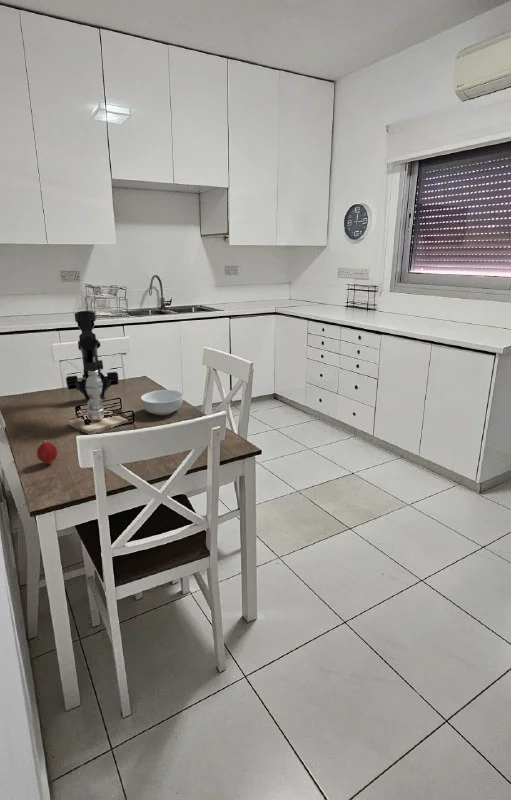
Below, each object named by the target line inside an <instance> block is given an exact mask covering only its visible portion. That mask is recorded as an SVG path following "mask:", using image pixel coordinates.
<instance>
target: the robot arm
mask: <svg viewBox="0 0 511 800" xmlns="http://www.w3.org/2000/svg"><path fill="white" fill-rule="evenodd" d="M74 320H75V324H77V327H78V329H79V330H80V331H81V333H80V334H79V337H78V338H79V339H78V340H77V347H78V351H80V352H81V357H82V365H83V366H82V367H83V374H82V377H78V376H77V375H68V376H67V377H66V378H65V382H66V387H67V390H76V391H79V392H80V393H82V396H83V397H84V398H85V401H86V402H88V397H87V392H86V387H85V381H86V380H87V378H88V377H89V375H88V370H89V371H95V370H98V373H99V375H98V376H99V377H100V379H101V380H102V382H103V388H102V400H105V399H106V393H107V391H108V388H111V387H112V386H115V385H116V386H117V385H119V373H118V371H110V372H108V371H107V372H106V375H104V373H103V372H101V370H104V364H103V363H104V362H103V359H101V360H99V358H98V357H99V355H98V349H100V347H101V342H100V341H99V340H98V339H97V337H96V334H95V333H94V332H93V330H94V328H95V322H96V321H97V319H96V315H95V311H92V310H80V311H77V312H75V313H74Z"/></svg>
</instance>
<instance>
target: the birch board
mask: <svg viewBox="0 0 511 800" xmlns="http://www.w3.org/2000/svg"><path fill="white" fill-rule="evenodd" d="M81 418H82V417H79V418H75V419H72V420H69V421H68V425H70V426H71V427H72V428H75V429H76V428H77V430H78V429H79V430H78V431H80V430H81V431H80V432H82V433H84V432H85V433H84V434H86V433H91V435H94V434H97V433H96V432H98V433H101V432H105V431H107V429H108V430H110V429H109V428H111V429H114V428H113V427H115V426H118V425H121V424H124V423H127V422H128V423H129V421H128V419H127V418H125V417H122V416H120V415H118V416H112V417H108V418H103V419H102V420H99V421H93V422H92V423H91V424H90V425H85V423H84V420H83V419H81ZM121 426H122V425H121ZM118 427H119V426H118ZM115 428H116V427H115ZM104 430H105V431H104Z"/></svg>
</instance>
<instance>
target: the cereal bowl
mask: <svg viewBox="0 0 511 800" xmlns="http://www.w3.org/2000/svg"><path fill="white" fill-rule="evenodd" d="M183 399H184V396H183V393H182V392H180V391H178V390H173V389H162V390H159V389H158V390H154V391H150V392H147V393H144V394H142V395H141V397H140V402H141V406H142V407H143V409H144V410H145V411H146V412H148V413H150V414H154V415H155V416H166V415H171V414H172V413H173V412H176V411H178V409H180V408H181V406H182V405H183V401H184V400H183Z"/></svg>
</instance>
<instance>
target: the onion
mask: <svg viewBox="0 0 511 800" xmlns="http://www.w3.org/2000/svg"><path fill="white" fill-rule="evenodd" d="M36 454H37V455H36V456H37V459H38V460H39V461H41V462H42V463H44V464H47V465H51V464H52V462H54V461H55V460H56V459H57V456H58V449H57V447H56V445H55V444H53V443H51V442H49V441H47V440H43V441H42V443H41V444H40V445H39V446H38V448H37V451H36Z"/></svg>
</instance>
